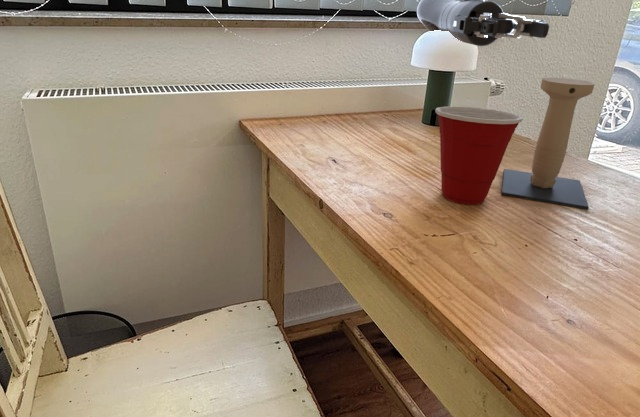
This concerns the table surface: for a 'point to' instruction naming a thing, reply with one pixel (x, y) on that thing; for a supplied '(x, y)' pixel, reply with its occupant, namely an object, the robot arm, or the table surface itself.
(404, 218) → the table surface
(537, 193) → the mat
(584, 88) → the handle
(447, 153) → the plastic cup
